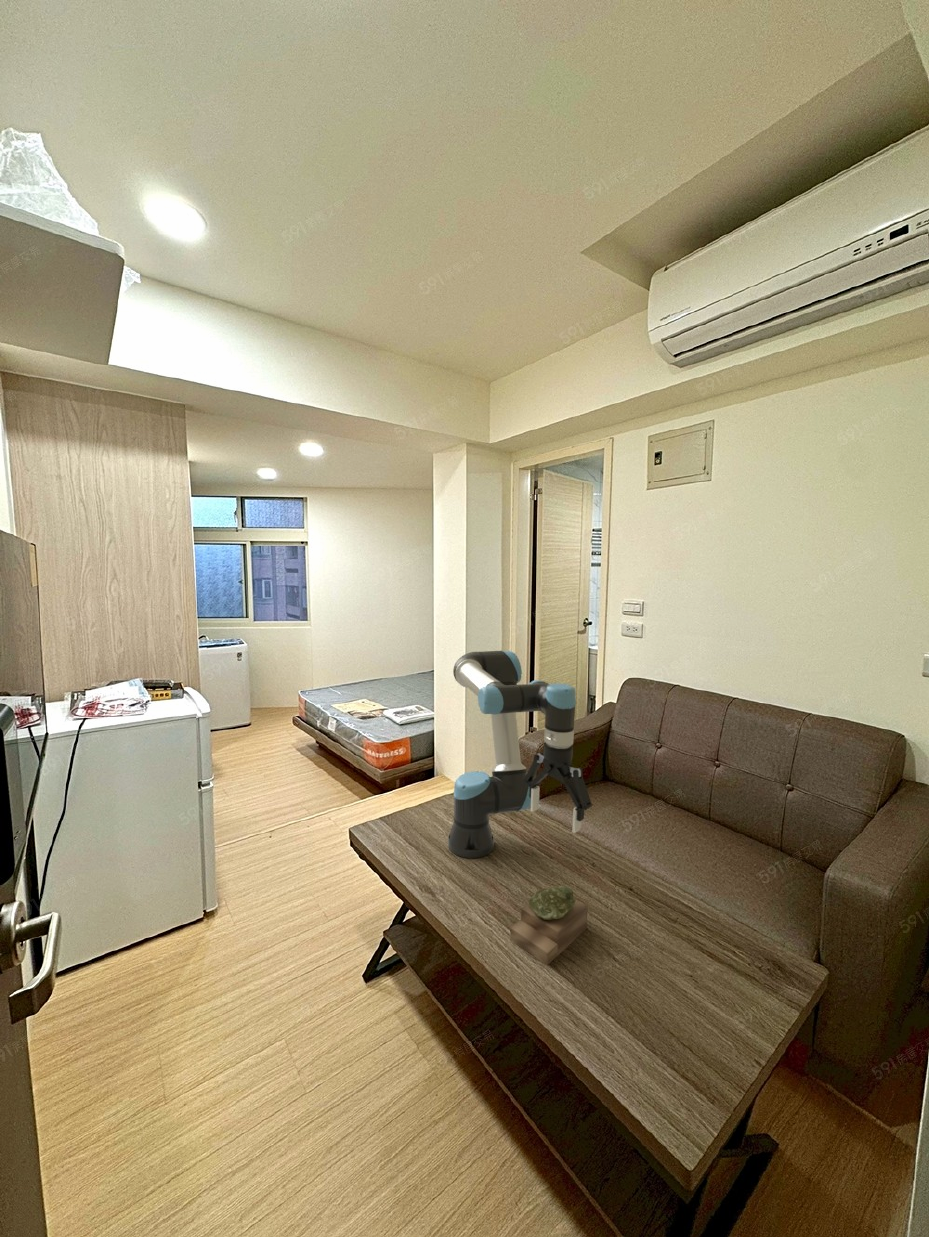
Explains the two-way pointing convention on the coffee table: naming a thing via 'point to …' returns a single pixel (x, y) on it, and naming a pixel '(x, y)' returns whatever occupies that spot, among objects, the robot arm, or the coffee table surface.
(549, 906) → the seashell
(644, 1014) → the coffee table surface
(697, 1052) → the coffee table surface
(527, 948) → the block
